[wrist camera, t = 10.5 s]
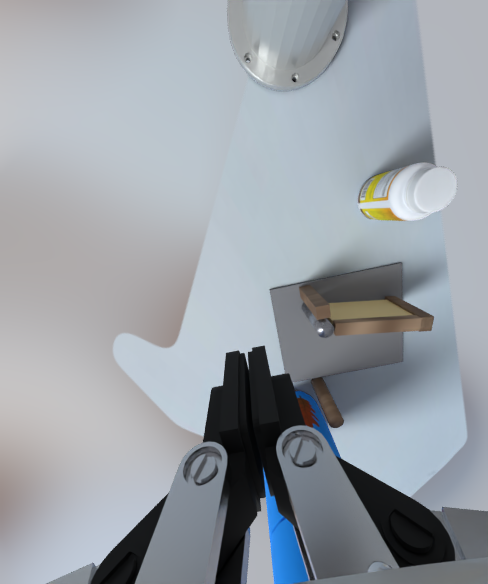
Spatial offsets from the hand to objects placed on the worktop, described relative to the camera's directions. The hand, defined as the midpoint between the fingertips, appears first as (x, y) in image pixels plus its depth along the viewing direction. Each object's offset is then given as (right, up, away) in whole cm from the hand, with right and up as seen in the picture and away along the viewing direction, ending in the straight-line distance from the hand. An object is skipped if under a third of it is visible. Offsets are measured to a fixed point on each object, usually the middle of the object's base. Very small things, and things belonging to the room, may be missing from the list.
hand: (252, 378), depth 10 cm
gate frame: (+14, -2, +27) cm, 31 cm away
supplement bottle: (+17, +16, +22) cm, 32 cm away
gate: (+15, +2, +25) cm, 29 cm away
